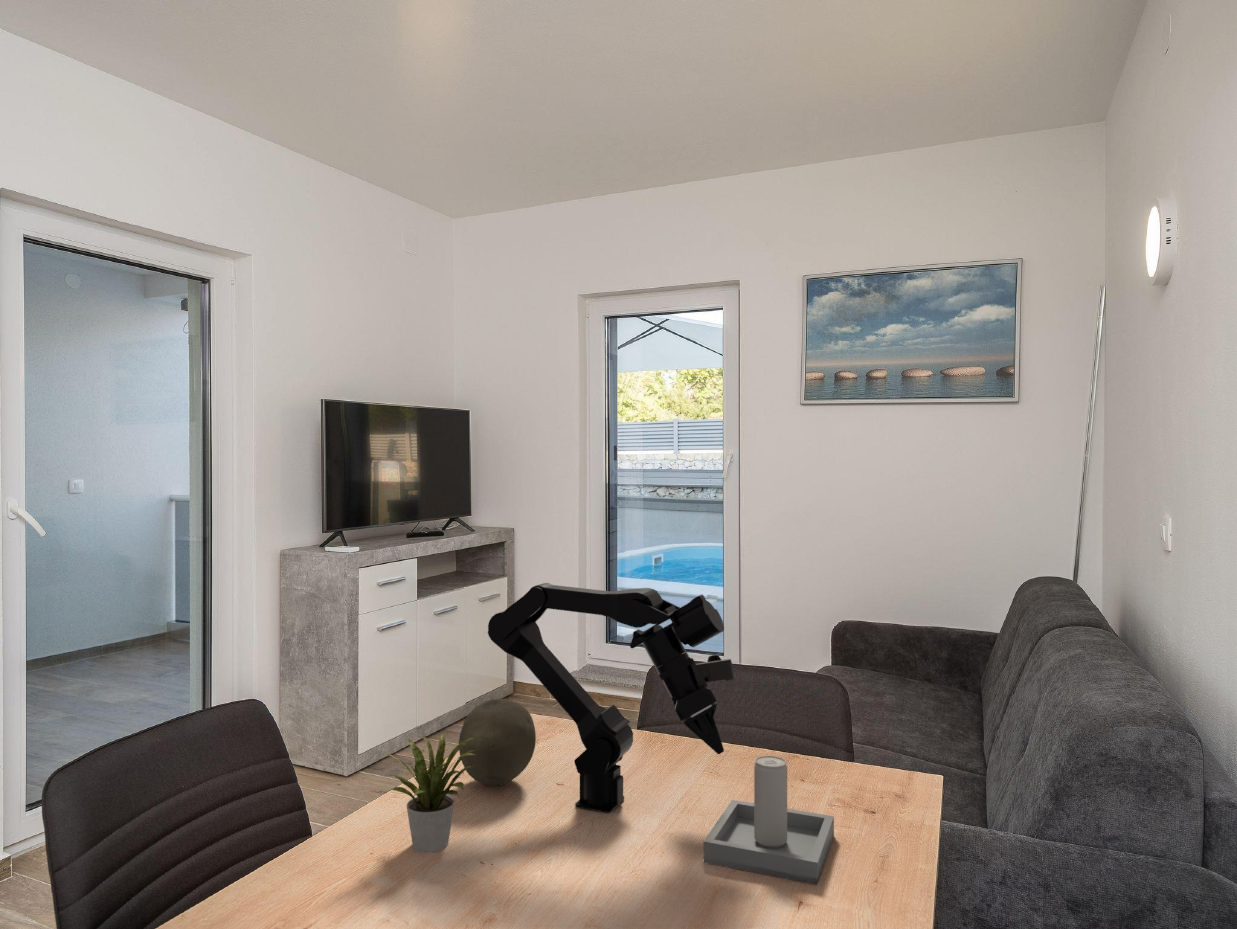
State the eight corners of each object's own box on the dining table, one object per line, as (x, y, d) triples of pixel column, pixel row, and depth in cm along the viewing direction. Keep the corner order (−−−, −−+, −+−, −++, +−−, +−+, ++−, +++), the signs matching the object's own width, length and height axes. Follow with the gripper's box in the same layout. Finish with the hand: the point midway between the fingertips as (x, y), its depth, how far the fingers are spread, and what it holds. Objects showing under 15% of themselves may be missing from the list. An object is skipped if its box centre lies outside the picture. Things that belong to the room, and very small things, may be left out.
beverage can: (793, 847, 117) (793, 765, 117) (763, 851, 116) (763, 768, 116) (777, 833, 122) (777, 754, 122) (748, 837, 120) (748, 757, 121)
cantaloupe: (440, 787, 142) (441, 702, 142) (501, 765, 152) (501, 686, 153) (492, 808, 132) (493, 717, 133) (553, 783, 143) (554, 699, 143)
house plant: (504, 831, 124) (504, 726, 124) (457, 873, 111) (458, 755, 111) (424, 818, 129) (425, 716, 129) (370, 857, 115) (371, 743, 116)
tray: (703, 862, 114) (703, 841, 114) (732, 818, 129) (732, 799, 129) (817, 885, 108) (817, 862, 108) (833, 835, 123) (833, 816, 123)
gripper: (718, 635, 122) (771, 730, 118) (710, 636, 140) (756, 718, 137) (654, 671, 121) (705, 767, 118) (654, 667, 139) (699, 751, 136)
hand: (719, 748), depth 127 cm, fingers open, 9 cm apart
